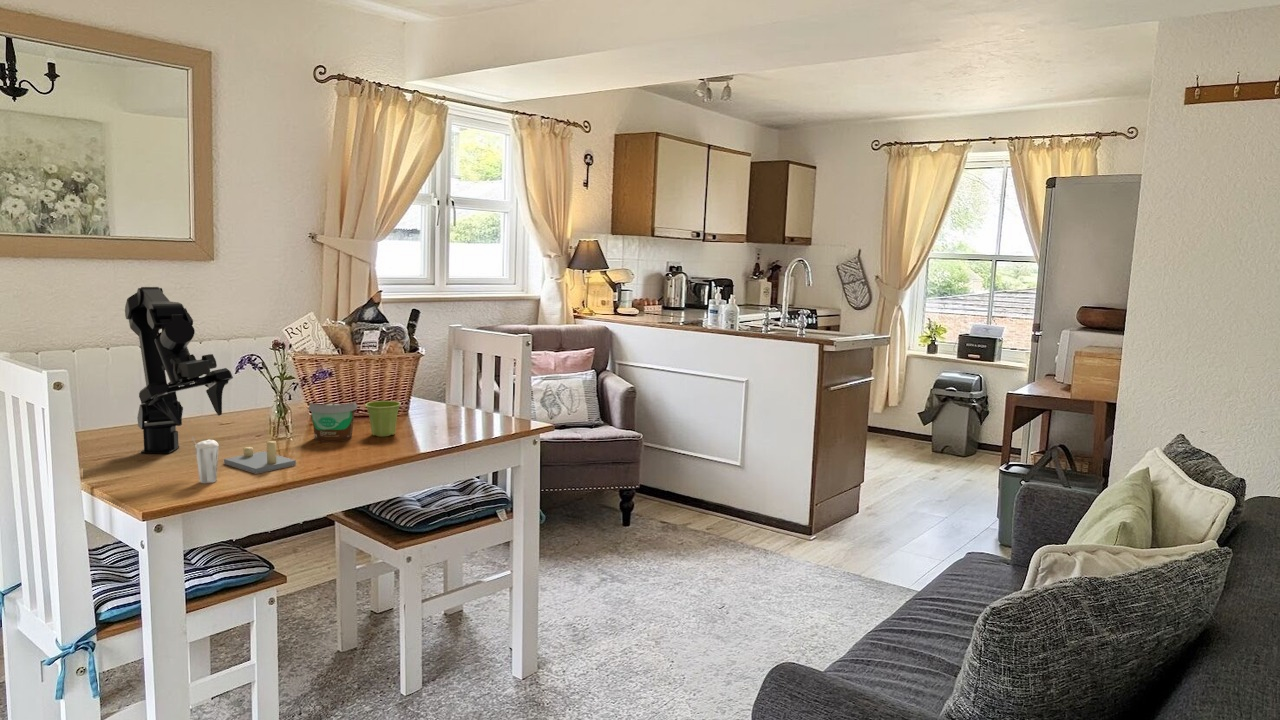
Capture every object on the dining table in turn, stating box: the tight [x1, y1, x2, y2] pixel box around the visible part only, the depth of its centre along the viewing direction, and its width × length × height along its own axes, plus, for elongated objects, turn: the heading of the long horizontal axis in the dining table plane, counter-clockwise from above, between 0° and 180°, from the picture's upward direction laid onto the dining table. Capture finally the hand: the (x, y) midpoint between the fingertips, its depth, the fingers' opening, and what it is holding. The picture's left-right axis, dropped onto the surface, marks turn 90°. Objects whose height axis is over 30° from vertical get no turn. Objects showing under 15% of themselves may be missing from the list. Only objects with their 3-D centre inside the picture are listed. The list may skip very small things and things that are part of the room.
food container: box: [308, 401, 358, 443], centre depth 220 cm, size 12×6×10 cm, turn 105°
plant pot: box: [364, 400, 402, 438], centre depth 228 cm, size 9×9×9 cm
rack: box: [223, 440, 297, 475], centre depth 194 cm, size 13×10×6 cm
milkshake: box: [191, 435, 220, 484], centre depth 179 cm, size 4×5×10 cm
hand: (200, 420), depth 186 cm, fingers open, 9 cm apart
